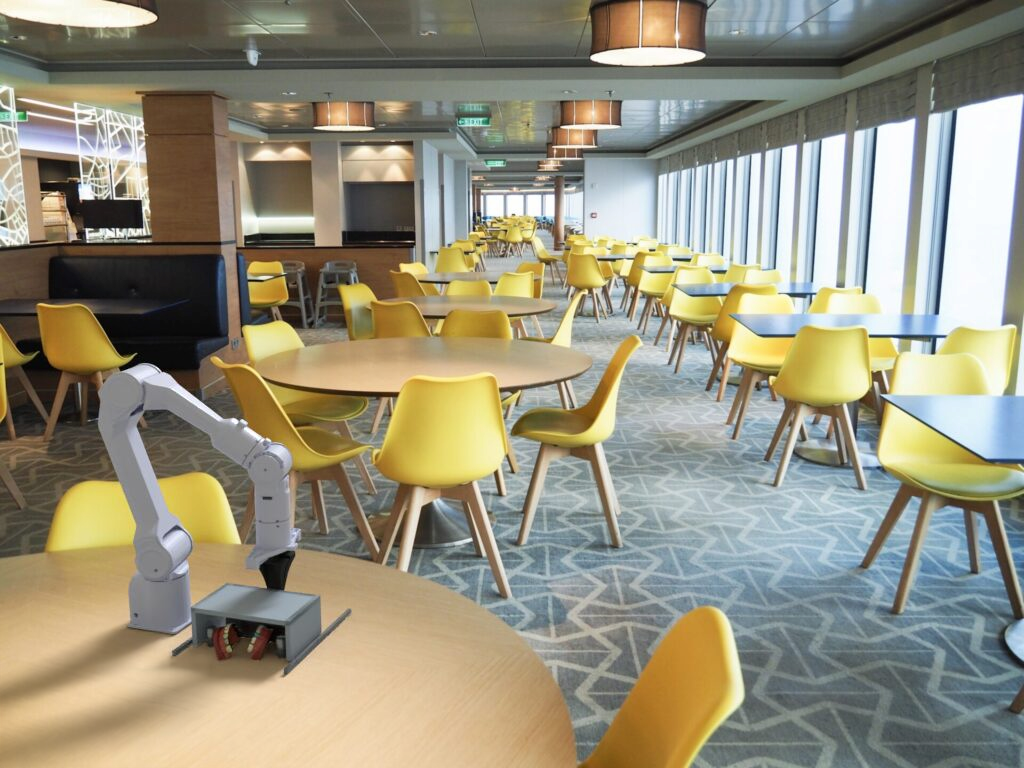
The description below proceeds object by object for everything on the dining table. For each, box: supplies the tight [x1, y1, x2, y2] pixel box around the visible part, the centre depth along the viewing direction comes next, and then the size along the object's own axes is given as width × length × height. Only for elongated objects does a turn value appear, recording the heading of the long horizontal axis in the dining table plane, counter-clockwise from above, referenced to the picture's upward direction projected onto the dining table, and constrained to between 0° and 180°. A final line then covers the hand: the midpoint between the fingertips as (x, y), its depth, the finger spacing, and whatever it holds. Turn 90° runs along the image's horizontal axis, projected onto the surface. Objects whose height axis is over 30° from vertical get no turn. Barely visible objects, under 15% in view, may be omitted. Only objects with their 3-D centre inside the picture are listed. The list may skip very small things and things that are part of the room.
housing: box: [190, 582, 323, 662], centre depth 142 cm, size 18×10×7 cm, turn 75°
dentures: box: [213, 623, 274, 661], centre depth 139 cm, size 6×5×9 cm
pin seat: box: [171, 607, 352, 675], centre depth 145 cm, size 20×22×3 cm
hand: (276, 594), depth 147 cm, fingers closed
